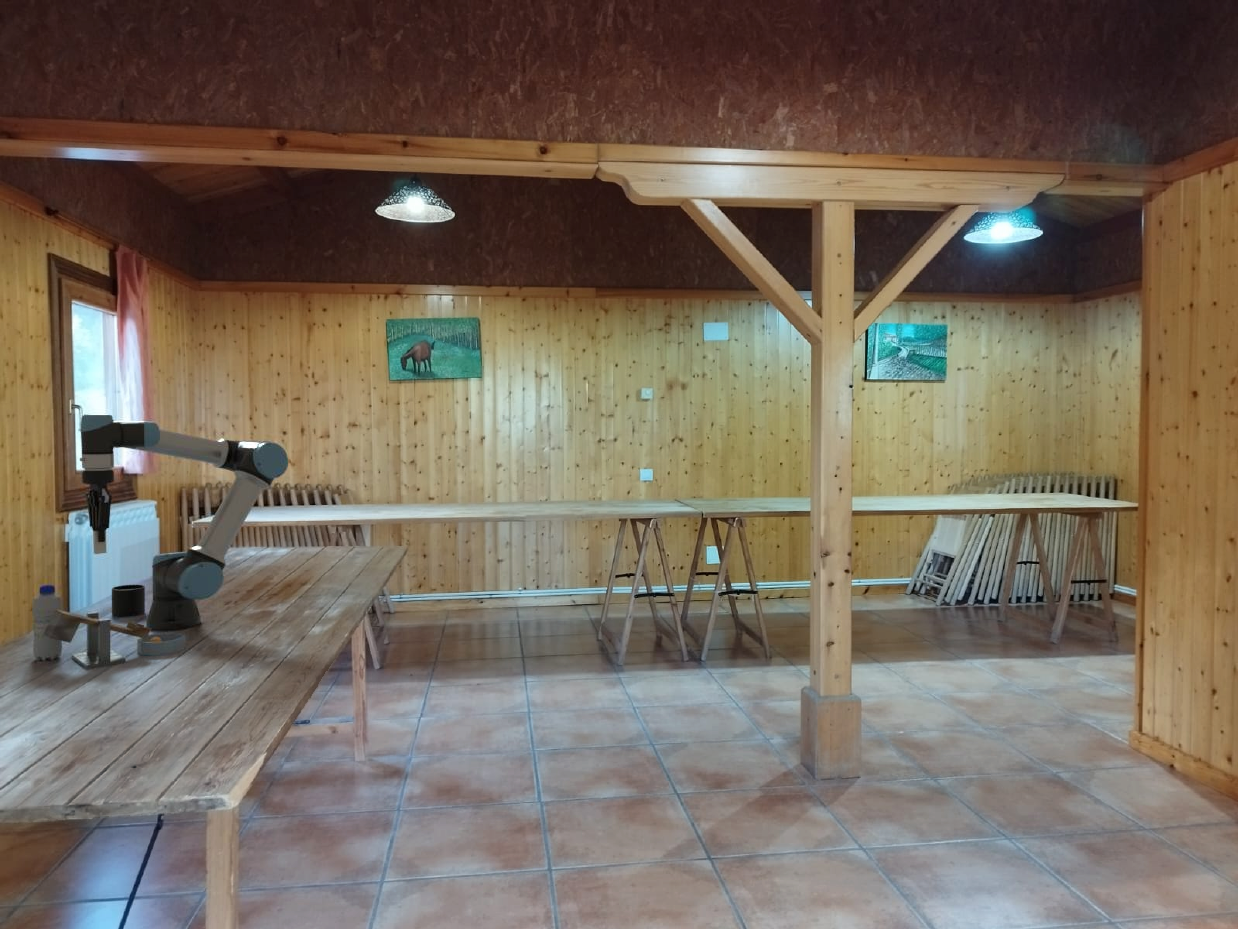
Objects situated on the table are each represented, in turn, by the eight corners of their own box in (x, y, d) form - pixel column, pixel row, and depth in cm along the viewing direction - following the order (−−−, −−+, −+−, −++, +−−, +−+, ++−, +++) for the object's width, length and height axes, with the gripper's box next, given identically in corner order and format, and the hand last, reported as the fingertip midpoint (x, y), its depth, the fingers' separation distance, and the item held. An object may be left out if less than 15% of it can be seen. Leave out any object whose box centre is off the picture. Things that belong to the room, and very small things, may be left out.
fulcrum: (86, 669, 209) (86, 623, 209) (71, 658, 219) (71, 614, 218) (125, 662, 216) (125, 618, 215) (109, 652, 225) (109, 609, 225)
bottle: (27, 662, 214) (27, 587, 213) (38, 655, 220) (38, 582, 219) (57, 661, 215) (56, 586, 215) (66, 654, 222) (66, 582, 221)
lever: (50, 638, 206) (66, 607, 208) (42, 632, 211) (57, 602, 213) (138, 658, 221) (152, 629, 223) (129, 652, 226) (142, 624, 228)
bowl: (146, 657, 221) (146, 645, 220) (132, 649, 228) (132, 637, 228) (190, 650, 229) (190, 638, 229) (176, 642, 237) (176, 630, 237)
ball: (148, 637, 228) (150, 648, 228) (148, 640, 225) (149, 651, 226) (161, 635, 229) (162, 645, 230) (161, 638, 227) (162, 649, 227)
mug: (150, 608, 278) (150, 582, 278) (140, 616, 266) (140, 589, 266) (119, 610, 275) (119, 583, 275) (107, 618, 264) (107, 590, 263)
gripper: (74, 468, 227) (76, 552, 228) (91, 471, 219) (93, 557, 220) (104, 467, 233) (106, 549, 234) (121, 470, 225) (123, 554, 226)
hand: (100, 553), depth 227 cm, fingers closed
